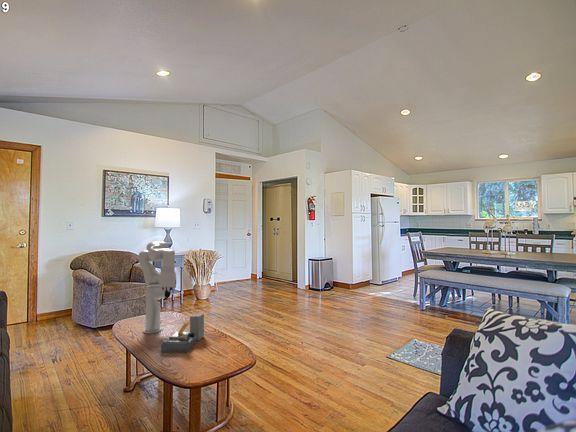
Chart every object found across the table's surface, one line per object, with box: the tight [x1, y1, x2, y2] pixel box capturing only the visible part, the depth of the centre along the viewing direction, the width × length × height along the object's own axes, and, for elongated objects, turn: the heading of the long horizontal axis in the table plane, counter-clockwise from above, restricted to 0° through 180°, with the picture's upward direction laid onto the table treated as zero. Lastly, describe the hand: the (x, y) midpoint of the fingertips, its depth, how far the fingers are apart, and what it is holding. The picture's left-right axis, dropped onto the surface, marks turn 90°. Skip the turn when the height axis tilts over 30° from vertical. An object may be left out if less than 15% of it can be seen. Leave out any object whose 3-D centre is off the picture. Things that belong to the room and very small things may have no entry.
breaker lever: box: [178, 320, 190, 335], centre depth 188 cm, size 5×2×8 cm
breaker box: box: [160, 331, 197, 354], centre depth 188 cm, size 16×16×8 cm
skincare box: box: [189, 313, 205, 342], centre depth 203 cm, size 8×7×16 cm
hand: (167, 297), depth 195 cm, fingers closed
